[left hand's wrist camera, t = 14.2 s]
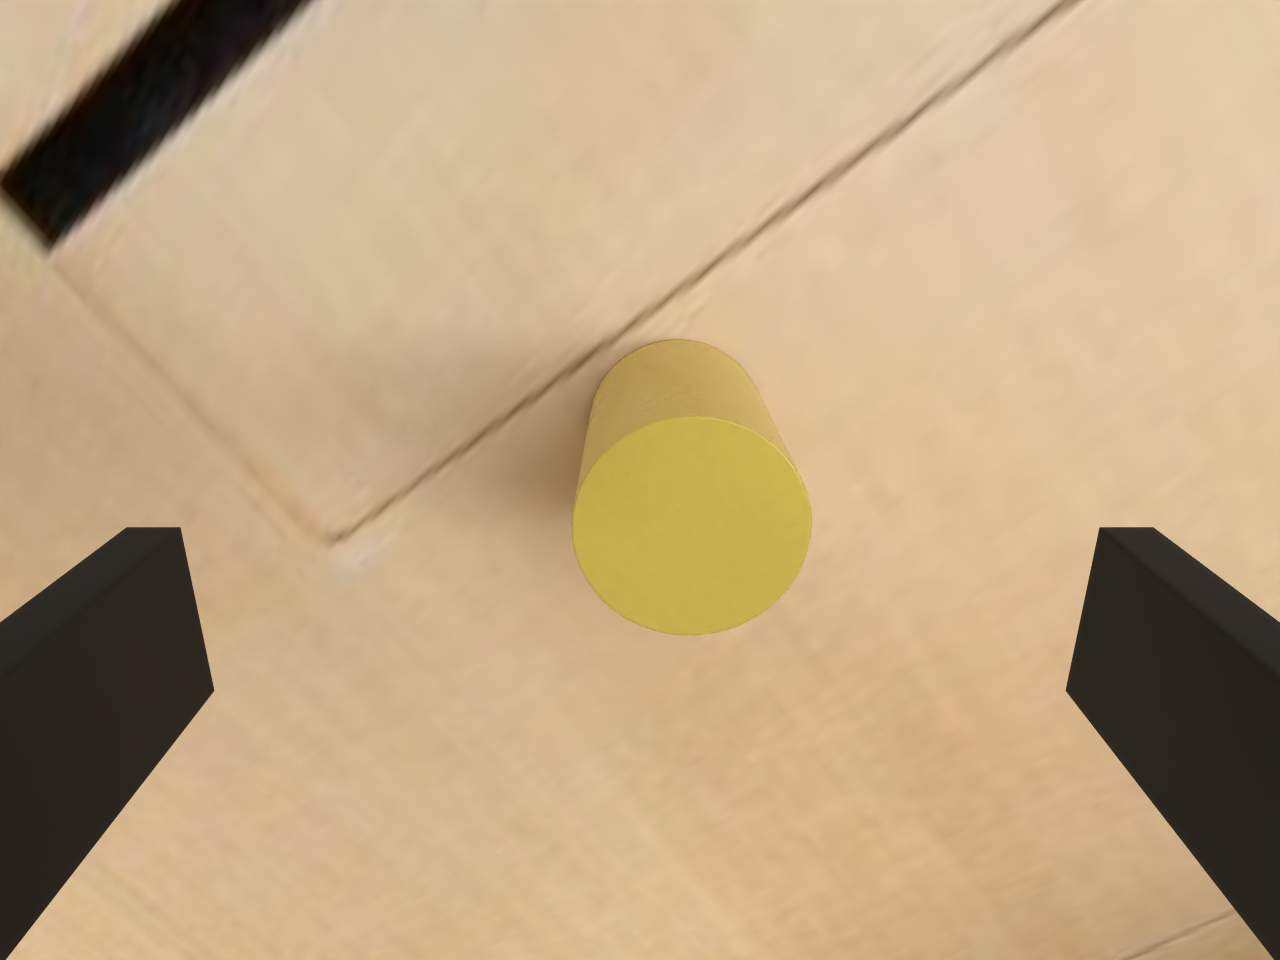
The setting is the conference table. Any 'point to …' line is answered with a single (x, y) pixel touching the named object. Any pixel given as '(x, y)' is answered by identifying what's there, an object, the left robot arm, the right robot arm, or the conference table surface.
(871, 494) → the conference table surface
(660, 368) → the canister
